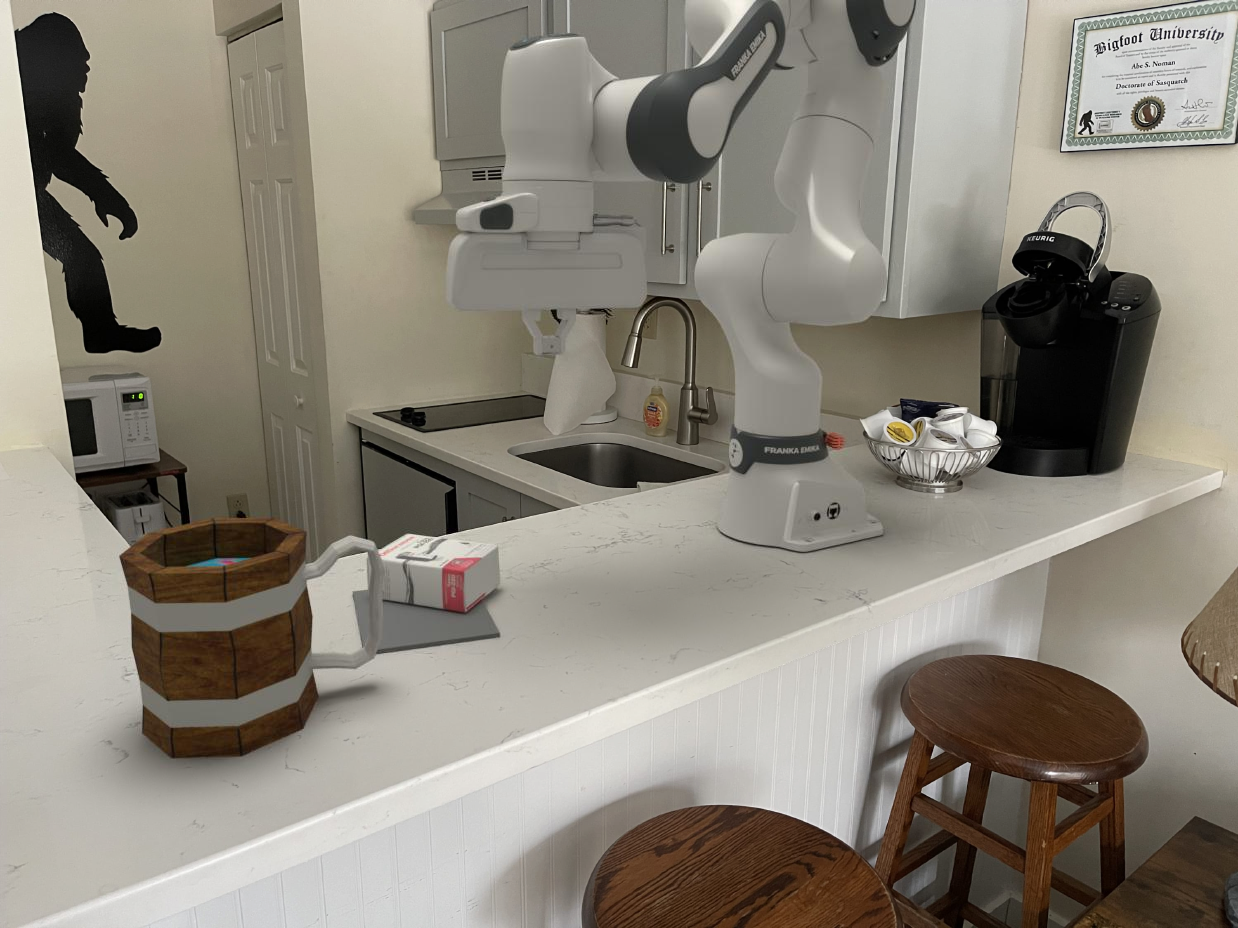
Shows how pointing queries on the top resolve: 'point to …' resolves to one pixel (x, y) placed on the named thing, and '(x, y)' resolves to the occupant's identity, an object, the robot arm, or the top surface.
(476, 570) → the ink box
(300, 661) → the mug
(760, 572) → the top surface
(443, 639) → the mat
